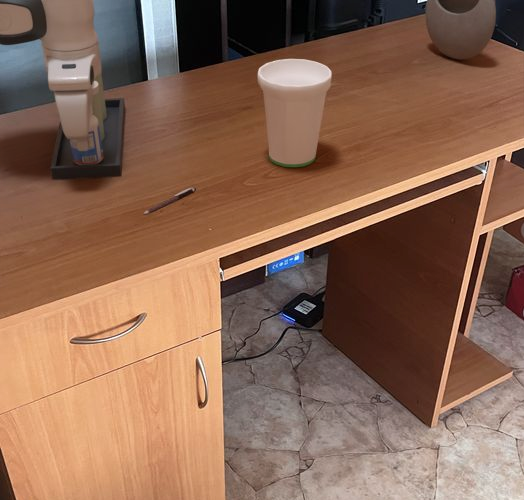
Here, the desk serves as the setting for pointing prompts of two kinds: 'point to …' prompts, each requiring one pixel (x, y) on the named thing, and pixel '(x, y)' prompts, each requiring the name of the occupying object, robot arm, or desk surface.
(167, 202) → the pen
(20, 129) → the desk surface
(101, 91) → the bottle back
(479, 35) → the planter
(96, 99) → the bottle mid
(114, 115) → the tray
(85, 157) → the pill bottle
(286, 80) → the cup
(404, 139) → the desk surface
